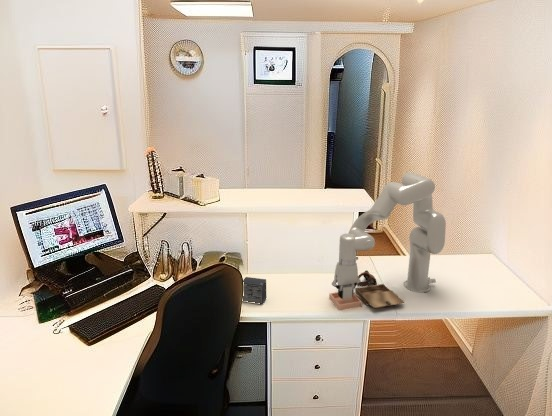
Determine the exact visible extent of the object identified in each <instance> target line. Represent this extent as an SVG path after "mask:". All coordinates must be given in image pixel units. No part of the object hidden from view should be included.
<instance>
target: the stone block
mask: <svg viewBox="0 0 552 416" xmlns="http://www.w3.org/2000/svg"><path fill="white" fill-rule="evenodd" d="M352 289H353V287H352V286H351V285H350V284H347V285H343V288H342V291H343V297H342V299H343V300H345V299H351V298H352Z"/></svg>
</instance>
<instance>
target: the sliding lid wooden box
mask: <svg viewBox="0 0 552 416" xmlns="http://www.w3.org/2000/svg"><path fill="white" fill-rule="evenodd" d="M354 294H355V295H356V296H357V297H358V298H359V299H360V300H361V301H362V303H364V304H365V305H370V306H371V307H372V308H373V309H376V308H377V309H378V308H383V307H389V306H394V305H401V304H405V301H404V300H403V299H402V298H401V297H399V295H398V294H397V293H395V291H393V290H390V288H388V286H386V285H385V284H384V283H381V284H377V285H376V284H375V285H369V286H363V287H361V286H360V287H355V288H354Z"/></svg>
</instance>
